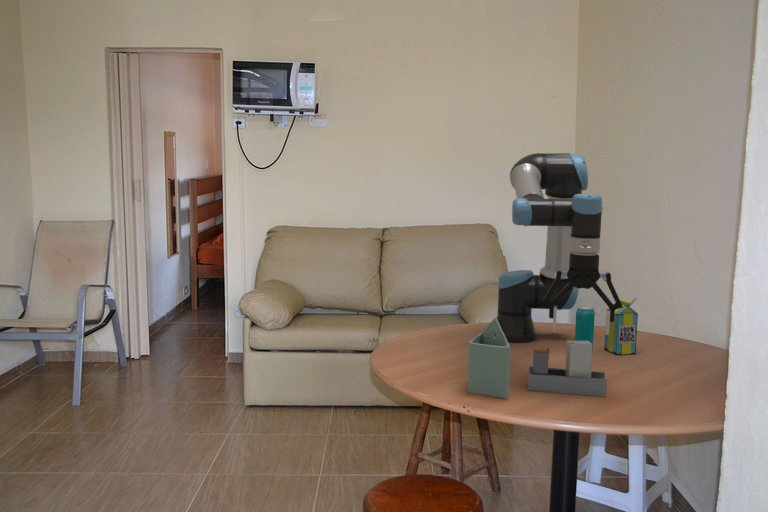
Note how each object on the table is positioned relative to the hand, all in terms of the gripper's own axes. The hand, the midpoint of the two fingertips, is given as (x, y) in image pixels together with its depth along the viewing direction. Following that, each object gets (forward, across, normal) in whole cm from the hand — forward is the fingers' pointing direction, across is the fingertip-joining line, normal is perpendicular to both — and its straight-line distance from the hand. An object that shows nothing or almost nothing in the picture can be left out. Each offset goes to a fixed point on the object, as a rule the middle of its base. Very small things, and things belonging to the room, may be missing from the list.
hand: (580, 332), depth 191 cm
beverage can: (+17, +3, +39) cm, 43 cm away
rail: (+16, -3, -1) cm, 16 cm away
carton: (+17, +15, +44) cm, 50 cm away
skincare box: (+15, 0, -1) cm, 15 cm away
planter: (+16, -25, -8) cm, 31 cm away
